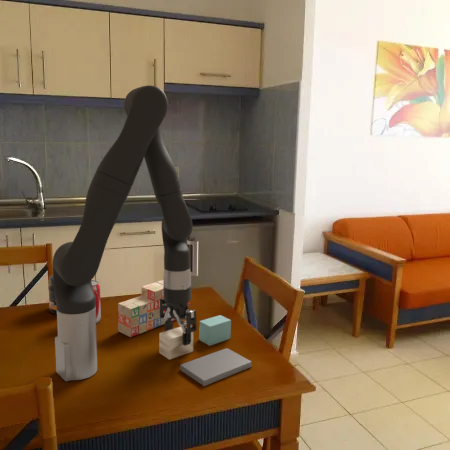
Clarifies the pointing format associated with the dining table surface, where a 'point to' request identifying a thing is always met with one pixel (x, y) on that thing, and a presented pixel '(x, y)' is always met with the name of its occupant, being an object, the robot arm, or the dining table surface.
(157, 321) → the stack of blocks
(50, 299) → the supplement container
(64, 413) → the dining table surface
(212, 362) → the baseplate
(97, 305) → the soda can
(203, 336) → the teal brick
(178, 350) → the cream brick
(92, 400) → the dining table surface
